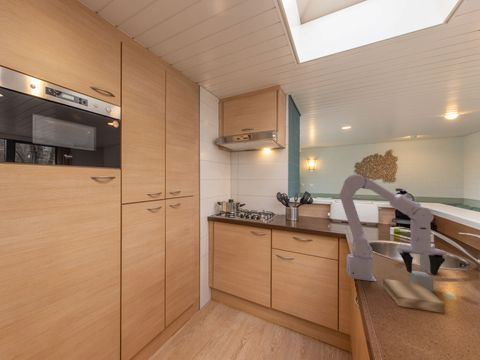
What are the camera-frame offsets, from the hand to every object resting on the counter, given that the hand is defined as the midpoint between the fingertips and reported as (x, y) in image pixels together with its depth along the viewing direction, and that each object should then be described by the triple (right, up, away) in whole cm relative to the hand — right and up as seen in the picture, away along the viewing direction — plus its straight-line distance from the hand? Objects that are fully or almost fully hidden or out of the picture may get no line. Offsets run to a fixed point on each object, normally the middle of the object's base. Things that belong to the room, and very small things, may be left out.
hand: (421, 273), depth 74 cm
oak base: (-11, -5, -7) cm, 14 cm away
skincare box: (+15, -6, +13) cm, 21 cm away
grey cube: (0, -6, 0) cm, 6 cm away
